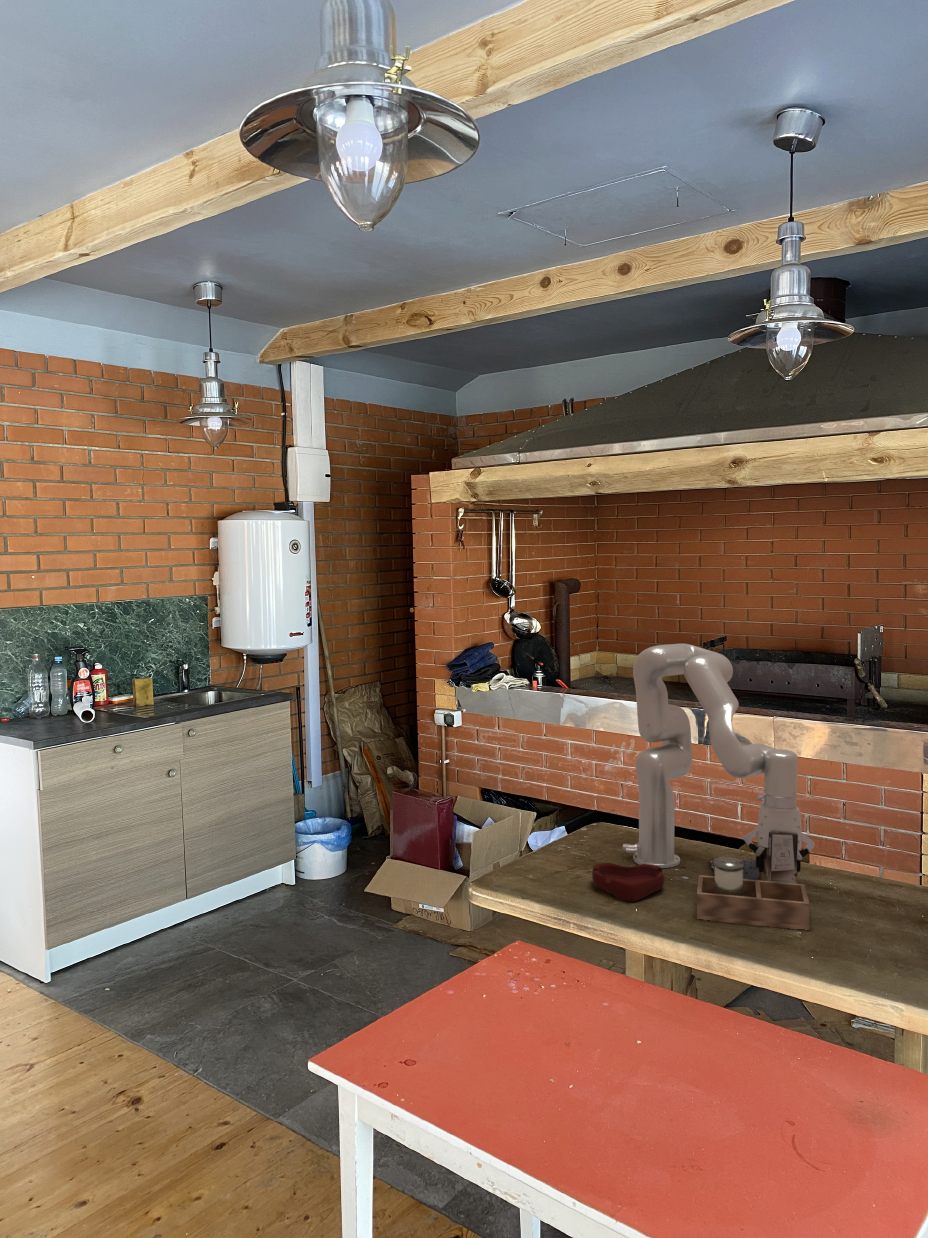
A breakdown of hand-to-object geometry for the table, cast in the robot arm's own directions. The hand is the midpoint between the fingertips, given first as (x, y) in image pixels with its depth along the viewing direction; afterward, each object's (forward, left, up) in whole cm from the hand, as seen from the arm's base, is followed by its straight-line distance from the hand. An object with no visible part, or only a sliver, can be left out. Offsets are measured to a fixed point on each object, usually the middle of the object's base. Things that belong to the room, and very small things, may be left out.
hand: (777, 872), depth 215 cm
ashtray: (-35, -6, -7) cm, 36 cm away
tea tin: (-11, -13, -6) cm, 19 cm away
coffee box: (0, 0, -6) cm, 6 cm away
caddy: (-6, -13, -6) cm, 16 cm away
